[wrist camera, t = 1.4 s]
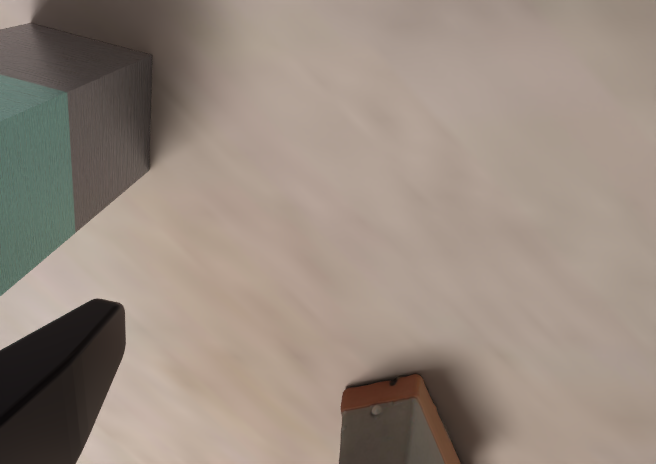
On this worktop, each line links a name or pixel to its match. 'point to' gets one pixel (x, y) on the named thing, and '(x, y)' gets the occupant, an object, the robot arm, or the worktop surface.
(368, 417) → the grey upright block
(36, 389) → the robot arm
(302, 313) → the worktop surface
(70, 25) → the worktop surface
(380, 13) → the worktop surface
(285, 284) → the worktop surface
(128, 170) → the teal block grey base
